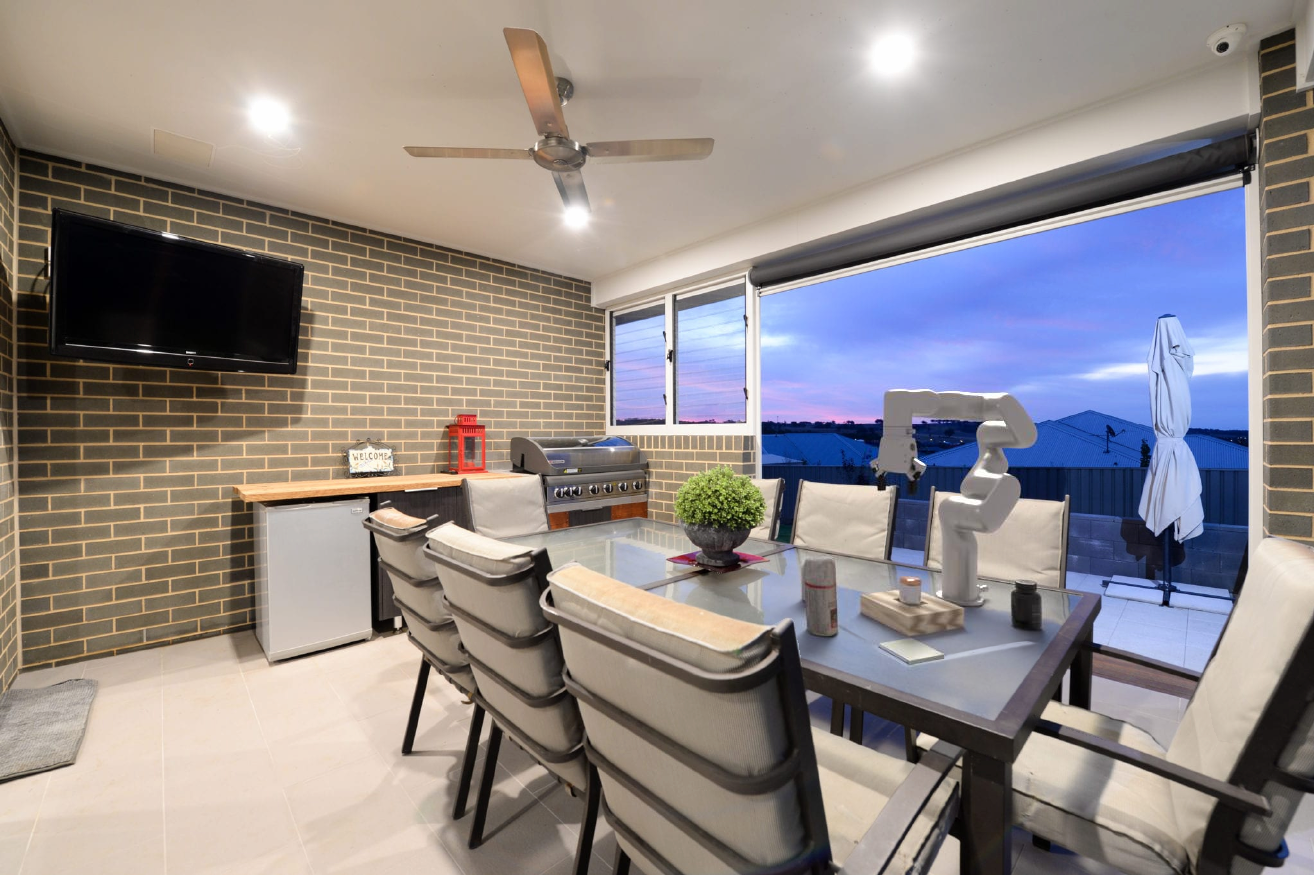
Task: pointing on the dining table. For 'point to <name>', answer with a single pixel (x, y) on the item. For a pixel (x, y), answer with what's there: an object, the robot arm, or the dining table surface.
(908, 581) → the copper topped silver cylinder
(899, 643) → the pad
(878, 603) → the housing
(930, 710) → the dining table surface
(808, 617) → the spray can
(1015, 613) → the supplement bottle
